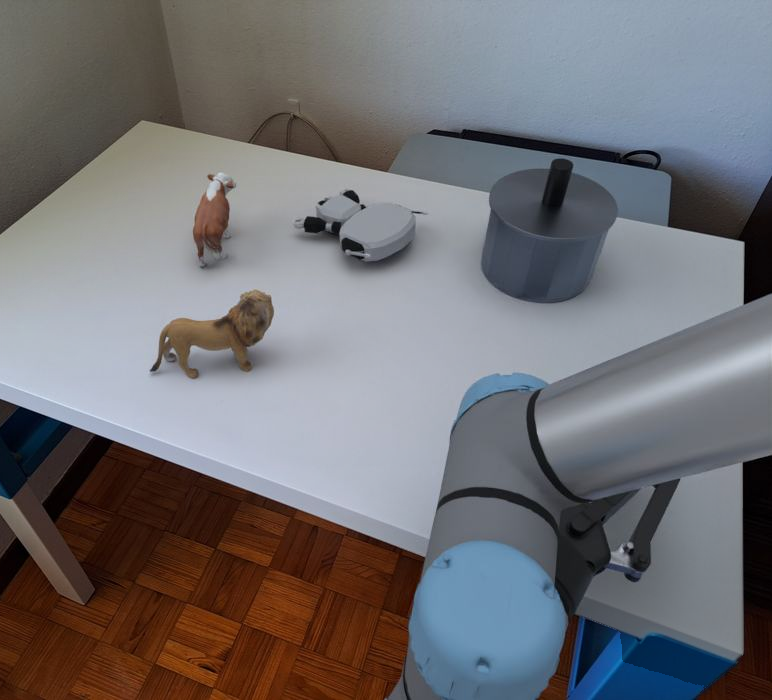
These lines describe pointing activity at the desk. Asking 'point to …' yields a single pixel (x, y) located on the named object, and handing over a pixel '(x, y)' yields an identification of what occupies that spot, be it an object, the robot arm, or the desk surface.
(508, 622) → the robot arm
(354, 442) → the desk surface
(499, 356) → the desk surface
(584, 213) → the pot lid
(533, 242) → the pot
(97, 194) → the desk surface
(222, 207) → the bull figurine
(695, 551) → the desk surface
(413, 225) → the robot toy
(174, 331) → the lion figurine
